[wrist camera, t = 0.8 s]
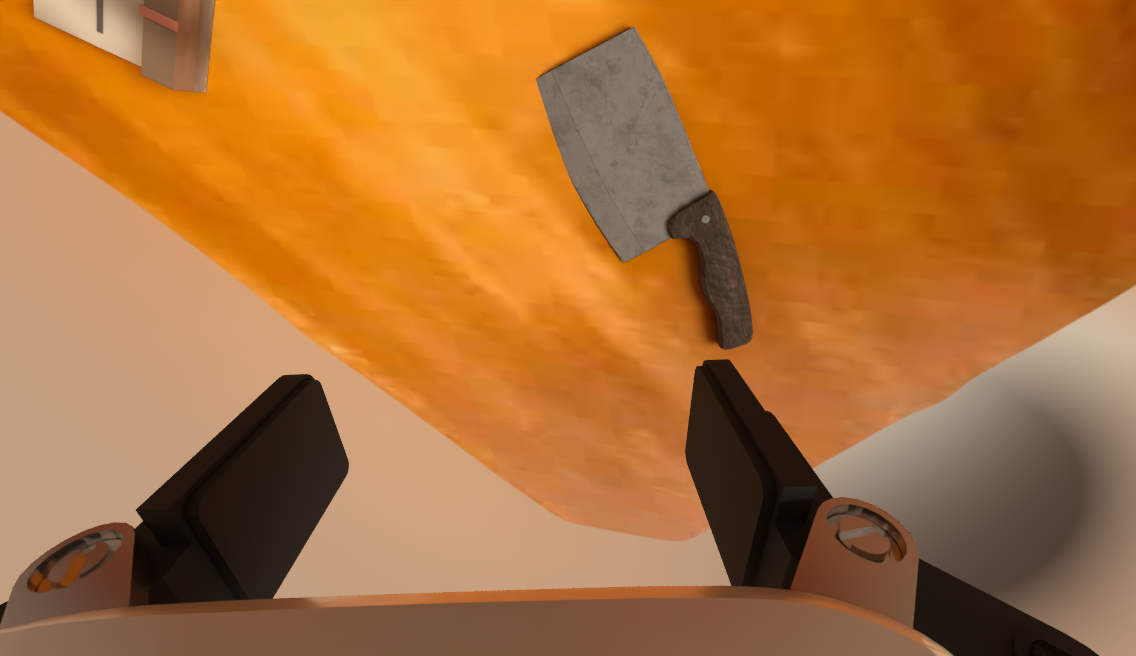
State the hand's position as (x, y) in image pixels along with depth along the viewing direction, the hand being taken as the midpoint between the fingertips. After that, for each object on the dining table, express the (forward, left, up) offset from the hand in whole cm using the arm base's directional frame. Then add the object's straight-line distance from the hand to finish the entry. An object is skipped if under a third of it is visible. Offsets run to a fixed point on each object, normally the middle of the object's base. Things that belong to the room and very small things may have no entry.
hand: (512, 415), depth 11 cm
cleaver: (-3, +10, -29) cm, 31 cm away
